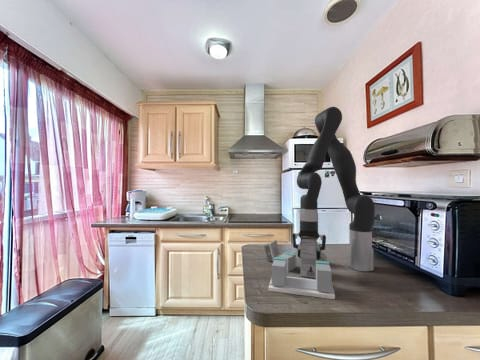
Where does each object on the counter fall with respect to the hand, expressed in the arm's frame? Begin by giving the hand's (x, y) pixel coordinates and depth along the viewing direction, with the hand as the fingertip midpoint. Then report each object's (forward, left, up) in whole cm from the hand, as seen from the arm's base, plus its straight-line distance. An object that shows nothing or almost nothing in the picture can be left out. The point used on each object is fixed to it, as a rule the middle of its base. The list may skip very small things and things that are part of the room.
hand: (308, 258), depth 100 cm
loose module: (+9, -4, -7) cm, 12 cm away
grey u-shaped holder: (+3, +15, -6) cm, 17 cm away
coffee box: (0, 0, -7) cm, 7 cm away
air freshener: (-3, -14, -7) cm, 16 cm away
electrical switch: (+17, -14, -7) cm, 23 cm away
